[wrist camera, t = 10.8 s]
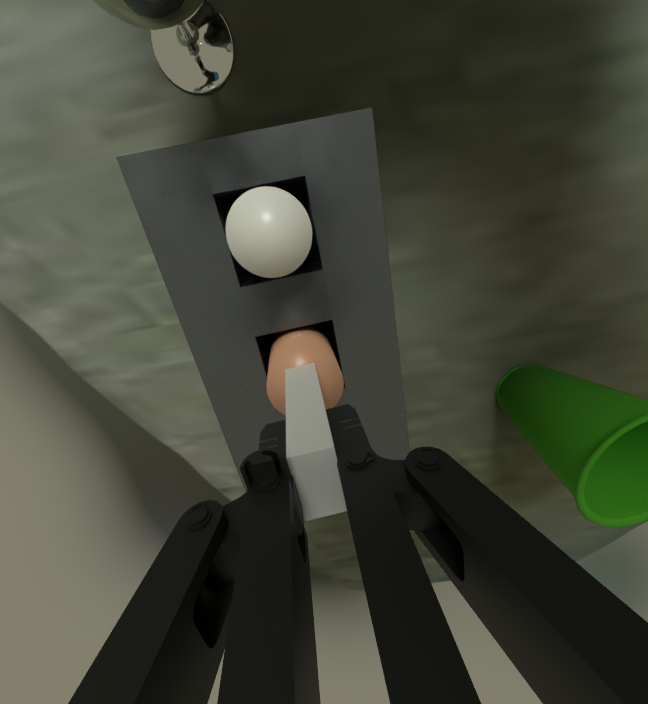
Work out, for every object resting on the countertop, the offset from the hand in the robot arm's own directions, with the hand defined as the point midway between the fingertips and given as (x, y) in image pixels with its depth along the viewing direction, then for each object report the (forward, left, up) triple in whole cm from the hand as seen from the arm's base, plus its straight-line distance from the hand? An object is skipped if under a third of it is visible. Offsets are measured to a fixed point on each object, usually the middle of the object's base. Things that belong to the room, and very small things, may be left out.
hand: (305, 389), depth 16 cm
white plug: (-8, 0, -9) cm, 11 cm away
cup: (+10, +19, -10) cm, 23 cm away
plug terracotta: (0, 0, -7) cm, 7 cm away
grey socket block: (0, 0, -9) cm, 9 cm away
